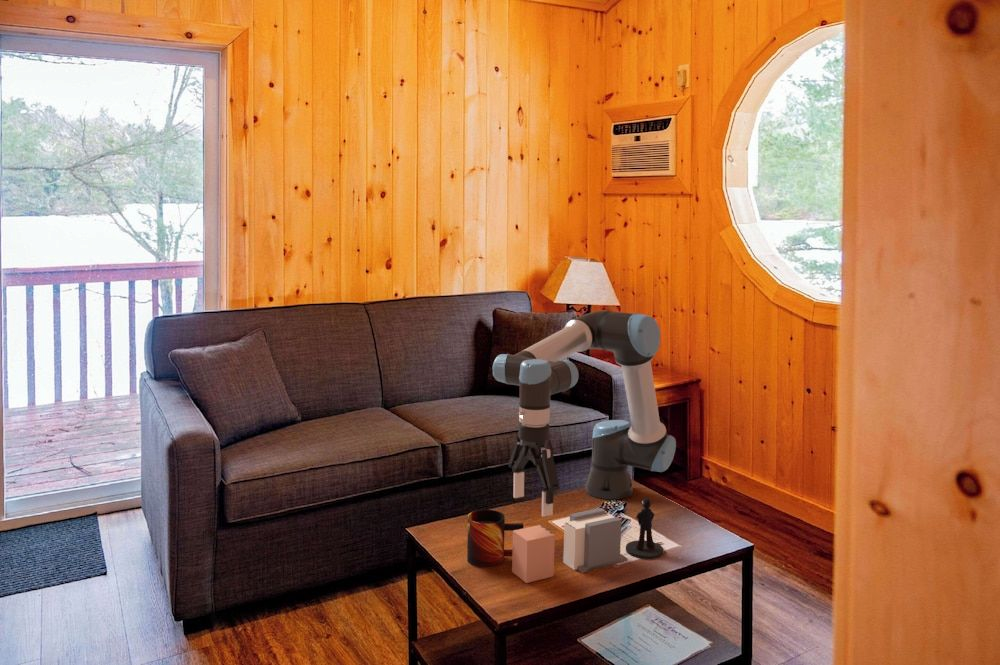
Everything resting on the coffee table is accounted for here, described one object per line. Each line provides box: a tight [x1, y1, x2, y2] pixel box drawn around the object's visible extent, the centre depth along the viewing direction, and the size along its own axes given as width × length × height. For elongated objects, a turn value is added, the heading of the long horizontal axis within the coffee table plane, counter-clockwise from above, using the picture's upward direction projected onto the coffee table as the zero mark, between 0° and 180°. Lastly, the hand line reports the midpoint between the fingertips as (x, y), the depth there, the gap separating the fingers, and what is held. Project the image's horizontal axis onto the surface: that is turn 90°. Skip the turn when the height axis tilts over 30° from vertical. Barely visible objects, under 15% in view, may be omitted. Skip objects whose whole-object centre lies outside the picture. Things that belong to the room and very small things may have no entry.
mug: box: [466, 509, 525, 569], centre depth 219 cm, size 10×14×12 cm
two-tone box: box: [561, 507, 628, 573], centre depth 218 cm, size 16×9×12 cm, turn 119°
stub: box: [511, 524, 556, 584], centre depth 209 cm, size 8×7×11 cm
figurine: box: [625, 497, 665, 560], centre depth 224 cm, size 10×10×15 cm
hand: (532, 506), depth 207 cm, fingers open, 13 cm apart
